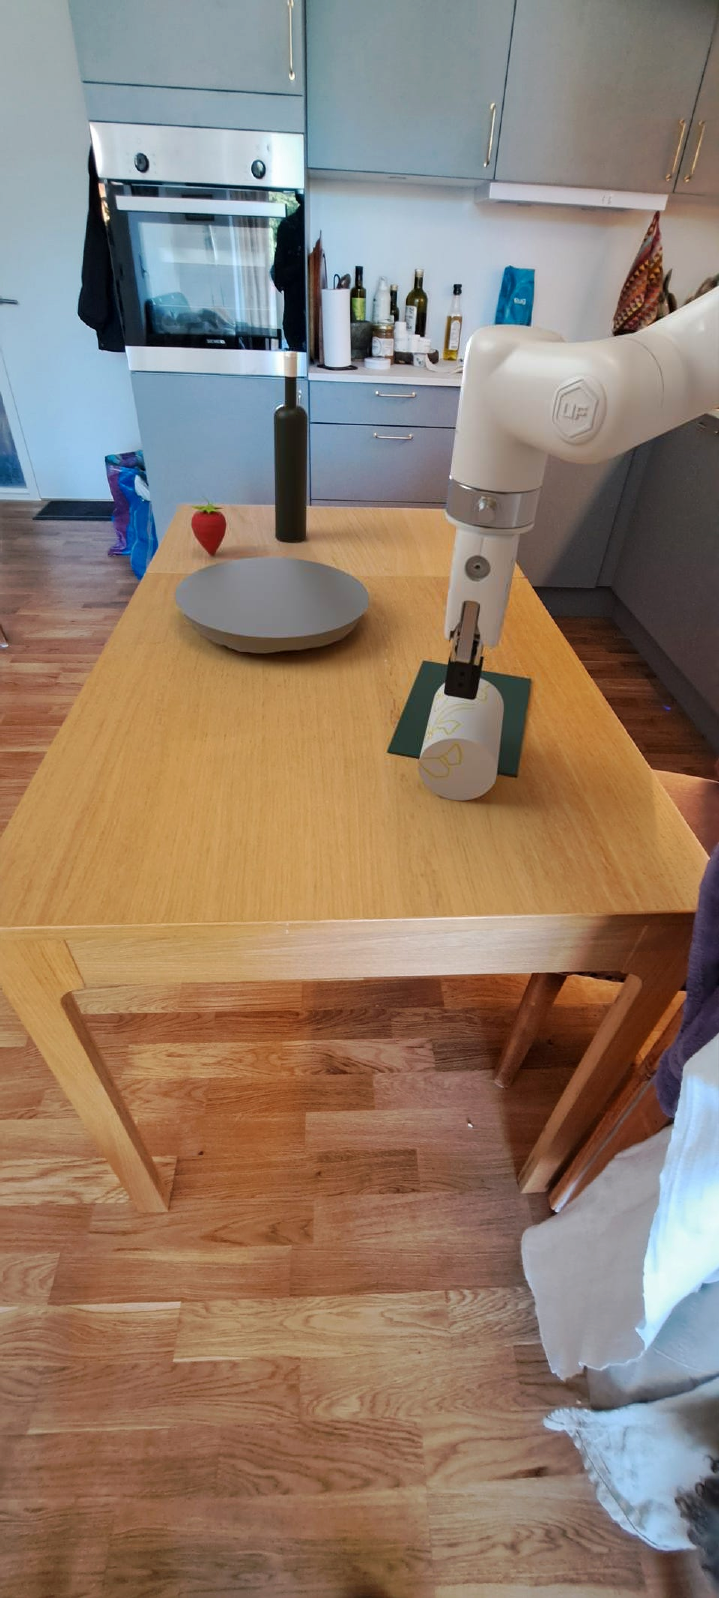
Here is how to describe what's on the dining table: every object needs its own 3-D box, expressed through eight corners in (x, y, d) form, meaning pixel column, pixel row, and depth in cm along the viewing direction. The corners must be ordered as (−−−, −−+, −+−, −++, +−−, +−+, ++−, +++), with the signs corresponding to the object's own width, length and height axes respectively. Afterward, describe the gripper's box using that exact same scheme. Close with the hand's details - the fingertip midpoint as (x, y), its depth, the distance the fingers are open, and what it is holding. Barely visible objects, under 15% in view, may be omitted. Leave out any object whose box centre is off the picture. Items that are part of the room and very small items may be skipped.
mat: (530, 680, 100) (531, 678, 100) (517, 777, 82) (517, 775, 82) (422, 662, 102) (423, 660, 102) (387, 752, 85) (387, 750, 85)
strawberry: (191, 562, 125) (185, 502, 119) (196, 546, 131) (191, 488, 125) (226, 563, 126) (222, 503, 120) (230, 547, 132) (226, 489, 125)
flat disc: (172, 588, 117) (169, 560, 114) (343, 580, 123) (344, 554, 120) (184, 675, 96) (181, 644, 93) (389, 660, 102) (392, 630, 99)
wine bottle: (275, 531, 140) (273, 347, 121) (306, 532, 140) (308, 349, 121) (275, 542, 135) (272, 353, 116) (306, 543, 136) (308, 355, 117)
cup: (403, 755, 76) (420, 693, 85) (442, 809, 80) (454, 744, 89) (472, 726, 72) (482, 665, 81) (510, 785, 76) (516, 720, 85)
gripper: (531, 538, 55) (490, 741, 66) (542, 484, 66) (505, 665, 78) (432, 524, 56) (408, 726, 67) (459, 473, 67) (435, 653, 79)
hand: (460, 693), depth 72 cm, fingers closed
